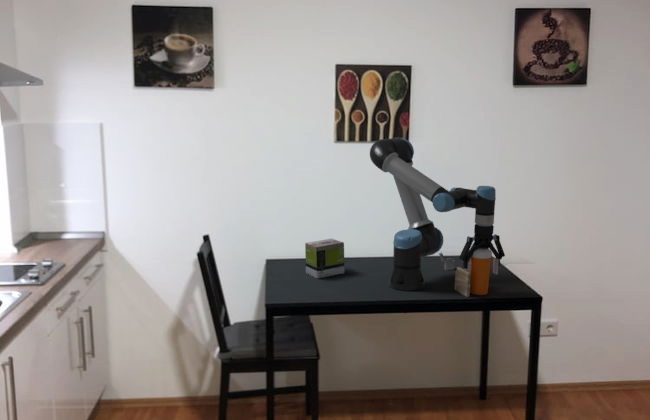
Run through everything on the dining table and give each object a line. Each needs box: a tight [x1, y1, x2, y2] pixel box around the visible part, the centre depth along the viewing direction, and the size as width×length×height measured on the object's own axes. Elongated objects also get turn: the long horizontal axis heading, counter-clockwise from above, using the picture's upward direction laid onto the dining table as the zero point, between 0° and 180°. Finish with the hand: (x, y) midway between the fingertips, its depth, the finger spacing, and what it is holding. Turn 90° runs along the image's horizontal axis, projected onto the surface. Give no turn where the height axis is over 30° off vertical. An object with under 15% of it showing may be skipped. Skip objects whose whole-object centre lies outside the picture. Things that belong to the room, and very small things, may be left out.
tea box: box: [304, 238, 345, 279], centre depth 290 cm, size 15×10×15 cm
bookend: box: [454, 266, 471, 298], centre depth 266 cm, size 14×10×10 cm
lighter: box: [438, 252, 455, 271], centre depth 299 cm, size 7×2×8 cm, turn 94°
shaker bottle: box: [469, 245, 493, 296], centre depth 264 cm, size 9×9×20 cm
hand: (481, 274), depth 265 cm, fingers open, 12 cm apart
